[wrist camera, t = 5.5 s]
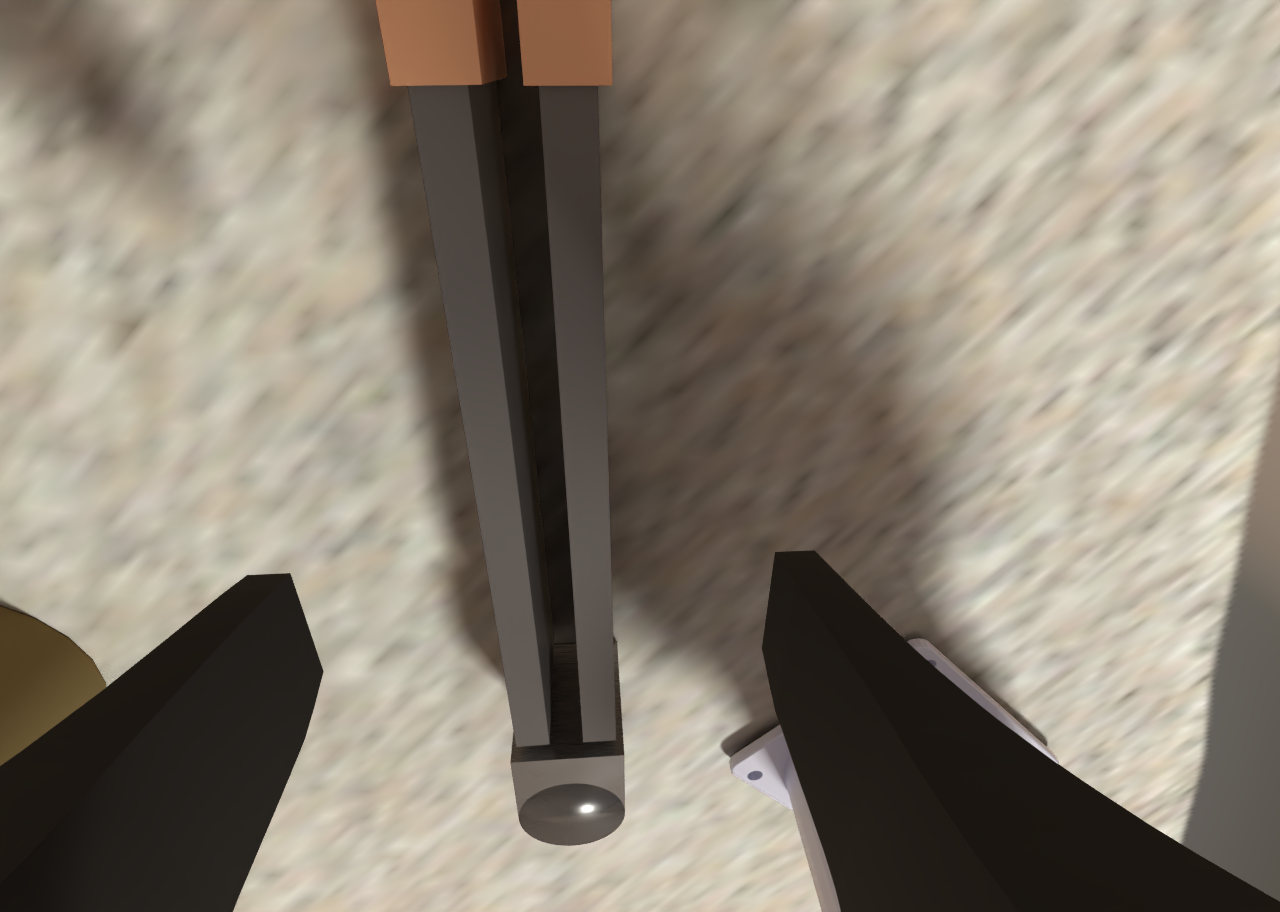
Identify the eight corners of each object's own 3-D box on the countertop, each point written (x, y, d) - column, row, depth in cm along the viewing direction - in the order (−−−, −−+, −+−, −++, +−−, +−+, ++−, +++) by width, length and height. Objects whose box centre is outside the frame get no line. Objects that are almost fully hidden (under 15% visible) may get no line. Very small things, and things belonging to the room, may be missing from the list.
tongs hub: (618, 724, 22) (625, 841, 19) (531, 730, 22) (523, 849, 18) (617, 640, 20) (624, 755, 17) (521, 646, 20) (510, 762, 17)
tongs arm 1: (617, 631, 19) (624, 743, 16) (575, 633, 19) (574, 746, 16) (598, -138, 11) (606, -218, 8) (523, -139, 11) (499, -220, 8)
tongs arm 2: (561, 634, 19) (557, 747, 16) (519, 636, 19) (507, 751, 16) (486, -141, 11) (447, -223, 7) (408, -141, 11) (336, -225, 7)
